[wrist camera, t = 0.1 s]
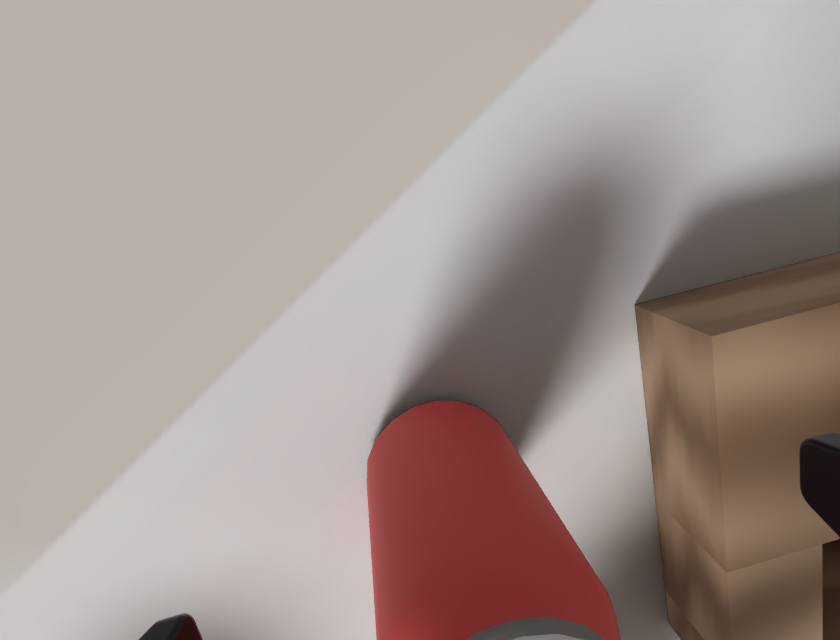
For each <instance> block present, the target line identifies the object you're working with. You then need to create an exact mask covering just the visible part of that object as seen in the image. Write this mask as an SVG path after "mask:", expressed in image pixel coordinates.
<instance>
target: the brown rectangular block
mask: <svg viewBox="0 0 840 640" xmlns="http://www.w3.org/2000/svg"><path fill="white" fill-rule="evenodd" d="M635 312H636V321H637V330H638V340H639V349H640V358H641V368H642V377H643V386H644V396H645V405H646V414H647V424H648V433H649V443H650V452H651V461H652V471H653V480H654V489H655V499H656V508H657V517H658V527H659V536H660V545H661V555H662V564H663V573H664V583H665V592H666V602H667V611H668V620H669V624H670V625H671V627H672V628H673V629H674V631H675V632H676V633H677V635H678V636H679V638H680V639H681V640H840V537H839V536H838V535H837V534H836V533H835V532H834V531H833V530H832V529H831V528H830V527H829V526H828V525H827V524H826V523H825V522H824V521H823V520H822V519H821V518H820V516H819V515H818V514H817V513H816V512H815V511H814V510H813V509H812V508H811V507H810V506H809V505H808V504H807V502H806V501H805V499H804V498H803V495H802V493H801V490H800V482H799V447H800V445H801V443H802V441H804V440H805V439H807V438H810V437H814V436H818V435H821V434H825V433H837V434H840V252H839V253H835V254H831V255H827V256H823V257H820V258H816V259H812V260H808V261H804V262H800V263H796V264H792V265H788V266H784V267H781V268H777V269H773V270H769V271H765V272H761V273H757V274H753V275H749V276H745V277H741V278H738V279H734V280H730V281H726V282H722V283H718V284H714V285H710V286H706V287H702V288H699V289H695V290H691V291H687V292H683V293H679V294H675V295H671V296H667V297H663V298H659V299H656V300H652V301H648V302H644V303H640V304H636V305H635Z"/></svg>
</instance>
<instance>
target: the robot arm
mask: <svg viewBox="0 0 840 640" xmlns="http://www.w3.org/2000/svg"><path fill="white" fill-rule="evenodd" d="M799 482H800V490H801V493H802V495H803V498H804V499H805V501H806V502H807V504H808V505H809V506H810V507H811V508H812V509H813V510H814V511H815V512H816V513H817V514H818V515H819V516H820V518H821V519H822V520H823V521H824V522H825V523H826V524H827V525H828V526H829V527H830V528H831V529H832V530H833V531H834V532H835V533H836V534H837V535H838V536H839V537H840V434H837V433H825V434H821V435H818V436H814V437H810V438H807V439H805V440H804V441H802V443H801V445H800V447H799ZM139 640H203V639H202V637H201V634H200V632H199V630H198V627H197V625H196V623H195V621H194V619H193V617H192V616H191V615H189V614H185V613H184V614H180V615H176V616H173V617H169V618H165V619H162V620H160V621H158V622H156V623H155V624H154V625H153V626H151V628H150V629H149V630H148V631H147V632H146V633H145V634H144V635H143V636H142V637H141V638H140V639H139Z"/></svg>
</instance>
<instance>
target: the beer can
mask: <svg viewBox="0 0 840 640" xmlns="http://www.w3.org/2000/svg"><path fill="white" fill-rule="evenodd" d="M367 494H368V510H369V525H370V541H371V557H372V572H373V588H374V604H375V620H376V635H377V640H620V635H619V630H618V625H617V619H616V615H615V612H614V609H613V606H612V603H611V600H610V597H609V595H608V592H607V591H606V589H605V588H604V586H603V585H602V583H601V581H600V580H599V578H598V577H597V575H596V574H595V572H594V571H593V569H592V567H591V566H590V564H589V563H588V561H587V560H586V558H585V556H584V555H583V553H582V552H581V550H580V549H579V547H578V546H577V544H576V542H575V541H574V539H573V538H572V536H571V535H570V533H569V531H568V530H567V528H566V527H565V525H564V524H563V522H562V520H561V519H560V517H559V516H558V514H557V513H556V511H555V510H554V508H553V506H552V505H551V503H550V502H549V500H548V499H547V497H546V495H545V494H544V492H543V491H542V489H541V488H540V486H539V485H538V483H537V481H536V480H535V478H534V477H533V475H532V474H531V472H530V470H529V469H528V467H527V466H526V464H525V463H524V461H523V460H522V458H521V456H520V455H519V453H518V452H517V450H516V449H515V447H514V445H513V444H512V442H511V441H510V439H509V438H508V436H507V435H506V433H505V432H504V430H503V429H502V427H501V425H500V424H499V422H498V421H497V420H496V419H494V418H493V417H492V416H490V415H489V414H488V413H486V412H485V411H484V410H482V409H481V408H479V407H476V406H472V405H469V404H466V403H463V402H460V401H432V402H429V403H425V404H422V405H419V406H415V407H412V408H410V409H409V410H407V411H406V412H404V413H403V414H401V415H399V416H398V417H396V418H395V419H393V420H392V421H391V422H390V423H389V424H388V425H387V427H386V428H385V429H384V430H383V431H382V432H381V434H380V435H379V436H378V437H377V438H376V440H375V443H374V445H373V448H372V450H371V453H370V455H369V458H368V462H367Z"/></svg>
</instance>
